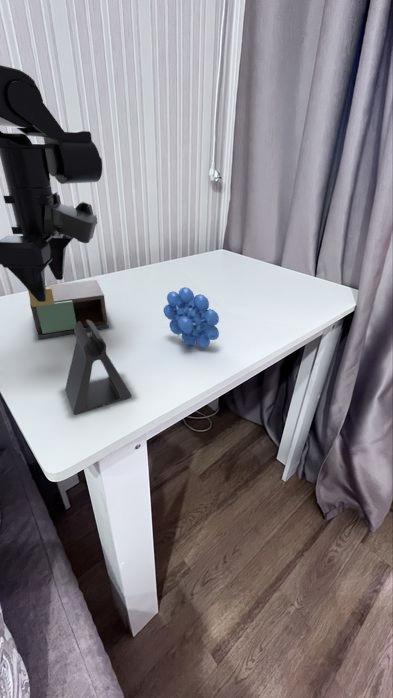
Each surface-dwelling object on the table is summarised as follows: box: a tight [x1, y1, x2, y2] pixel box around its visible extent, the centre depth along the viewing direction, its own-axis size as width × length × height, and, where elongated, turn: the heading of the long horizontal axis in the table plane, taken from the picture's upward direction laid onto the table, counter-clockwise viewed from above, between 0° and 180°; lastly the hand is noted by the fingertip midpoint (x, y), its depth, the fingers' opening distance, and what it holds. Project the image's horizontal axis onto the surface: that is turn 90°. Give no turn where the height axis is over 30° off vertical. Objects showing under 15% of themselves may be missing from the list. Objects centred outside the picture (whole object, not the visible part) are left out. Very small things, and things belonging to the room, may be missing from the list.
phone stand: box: [64, 320, 132, 416], centre depth 50 cm, size 9×6×12 cm, turn 119°
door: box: [27, 287, 76, 334], centre depth 65 cm, size 7×1×9 cm, turn 114°
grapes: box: [162, 286, 220, 348], centre depth 63 cm, size 12×7×12 cm, turn 67°
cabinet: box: [29, 279, 110, 340], centre depth 71 cm, size 14×10×7 cm
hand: (51, 289), depth 55 cm, fingers open, 9 cm apart
